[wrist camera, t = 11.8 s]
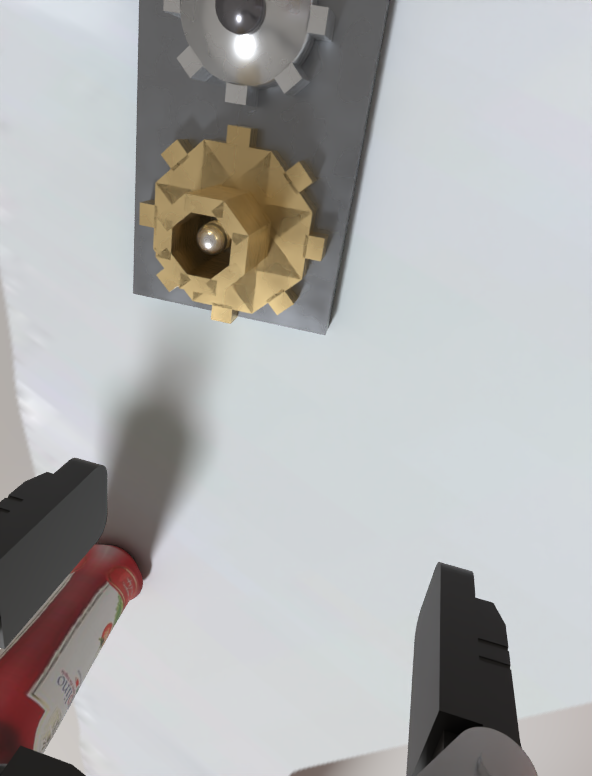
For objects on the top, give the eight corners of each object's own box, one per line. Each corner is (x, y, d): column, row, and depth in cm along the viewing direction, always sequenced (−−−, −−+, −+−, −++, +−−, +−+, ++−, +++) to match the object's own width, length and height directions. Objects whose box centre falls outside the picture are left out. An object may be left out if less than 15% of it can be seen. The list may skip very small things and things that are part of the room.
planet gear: (344, 143, 33) (326, 147, 27) (311, 333, 38) (291, 369, 32) (152, 110, 34) (97, 106, 28) (147, 297, 40) (99, 326, 34)
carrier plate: (471, -436, 24) (491, -677, 17) (328, 328, 39) (307, 372, 32) (163, -451, 25) (62, -675, 18) (142, 287, 41) (83, 321, 34)
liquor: (149, 601, 55) (-78, 992, 30) (80, 581, 56) (-196, 945, 31) (152, 545, 52) (-100, 931, 27) (79, 524, 52) (-231, 881, 28)
